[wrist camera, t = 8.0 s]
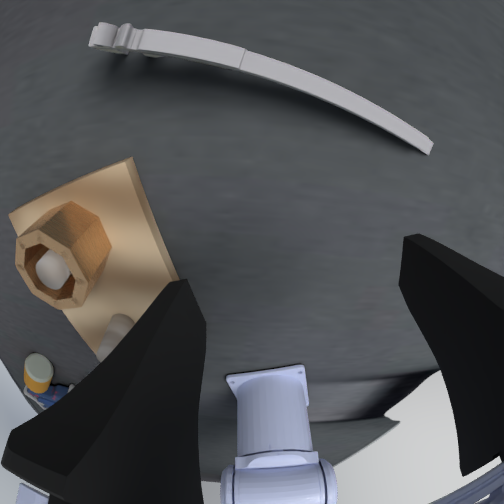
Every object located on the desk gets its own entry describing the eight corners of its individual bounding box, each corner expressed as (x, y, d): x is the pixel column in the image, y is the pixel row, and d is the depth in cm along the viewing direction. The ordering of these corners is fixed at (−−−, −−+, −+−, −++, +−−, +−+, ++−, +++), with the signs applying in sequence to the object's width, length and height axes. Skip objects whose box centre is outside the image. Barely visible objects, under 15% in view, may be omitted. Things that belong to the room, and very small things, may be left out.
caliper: (122, 55, 12) (65, 47, 7) (127, 39, 12) (72, 23, 6) (424, 154, 16) (483, 187, 11) (430, 140, 15) (491, 169, 10)
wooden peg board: (206, 336, 24) (200, 386, 20) (99, 345, 25) (83, 386, 21) (132, 156, 16) (93, 184, 11) (16, 208, 17) (-23, 240, 12)
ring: (121, 266, 18) (100, 304, 15) (67, 277, 19) (44, 311, 15) (89, 193, 15) (56, 222, 12) (35, 215, 16) (4, 244, 12)
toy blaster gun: (1, 337, 26) (42, 391, 34) (-10, 358, 23) (35, 410, 31) (125, 367, 28) (148, 417, 36) (117, 398, 25) (145, 440, 33)
